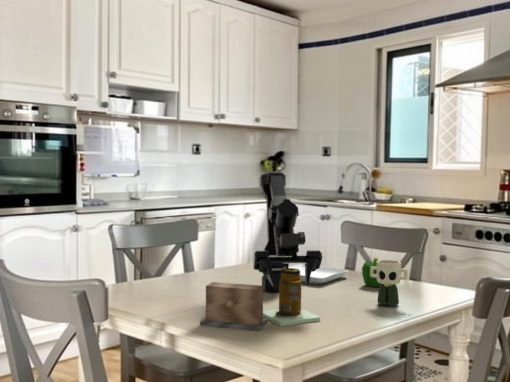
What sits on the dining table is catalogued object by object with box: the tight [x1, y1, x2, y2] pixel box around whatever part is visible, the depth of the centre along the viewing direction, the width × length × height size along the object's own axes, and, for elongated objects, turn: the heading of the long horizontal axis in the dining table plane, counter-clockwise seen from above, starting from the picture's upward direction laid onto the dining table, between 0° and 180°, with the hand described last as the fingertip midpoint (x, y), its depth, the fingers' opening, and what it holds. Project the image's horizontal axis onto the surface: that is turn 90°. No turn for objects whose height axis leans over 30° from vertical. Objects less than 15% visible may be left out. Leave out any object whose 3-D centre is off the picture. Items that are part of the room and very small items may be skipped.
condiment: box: [275, 268, 304, 318], centre depth 155 cm, size 7×8×12 cm
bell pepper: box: [361, 257, 381, 288], centre depth 197 cm, size 8×8×10 cm
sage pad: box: [263, 308, 321, 327], centre depth 155 cm, size 12×12×1 cm
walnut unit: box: [199, 281, 269, 332], centre depth 149 cm, size 16×8×10 cm, turn 74°
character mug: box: [370, 259, 409, 306], centre depth 170 cm, size 11×7×13 cm, turn 69°
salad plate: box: [288, 263, 350, 285], centre depth 209 cm, size 21×21×3 cm
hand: (290, 285), depth 153 cm, fingers open, 9 cm apart
